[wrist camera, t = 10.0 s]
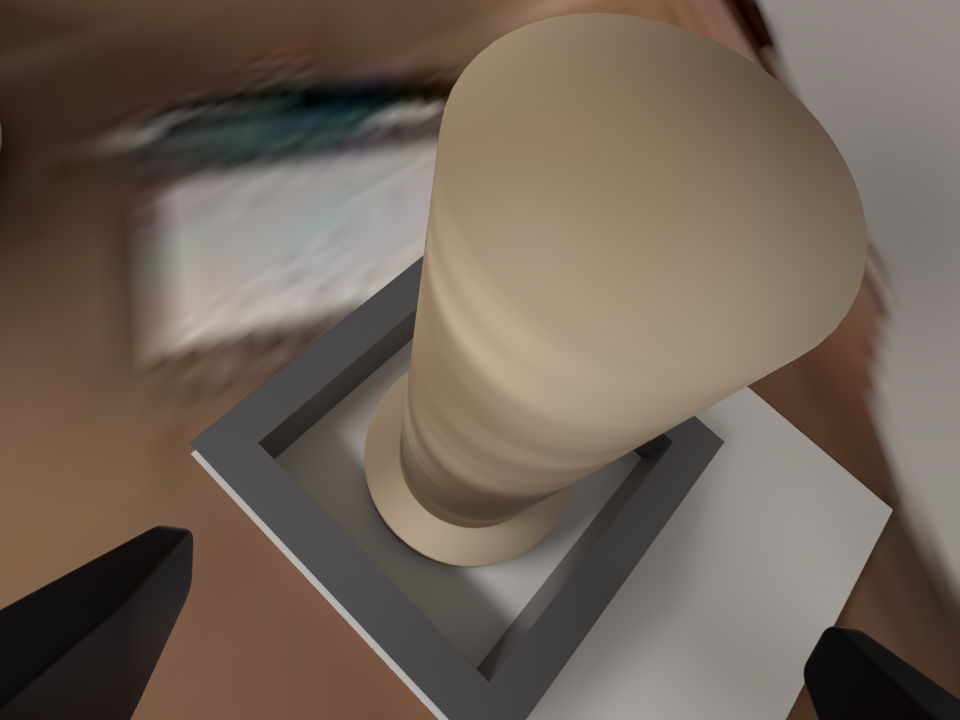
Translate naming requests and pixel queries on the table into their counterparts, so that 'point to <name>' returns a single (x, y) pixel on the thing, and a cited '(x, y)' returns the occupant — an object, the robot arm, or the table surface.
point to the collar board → (562, 550)
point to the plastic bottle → (0, 137)
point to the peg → (601, 271)
